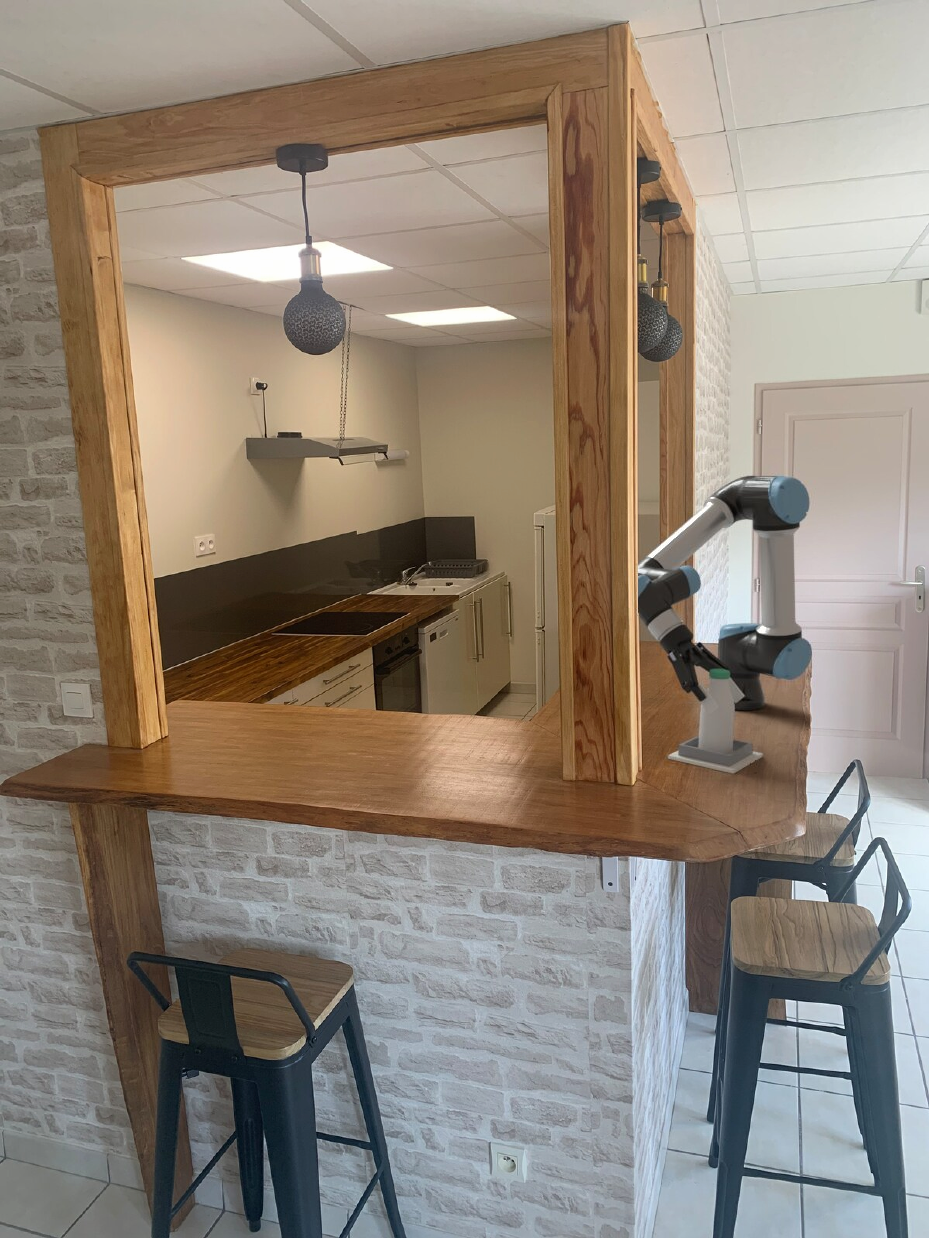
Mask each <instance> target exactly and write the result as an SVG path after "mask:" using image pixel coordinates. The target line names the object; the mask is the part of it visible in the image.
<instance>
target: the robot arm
mask: <svg viewBox="0 0 929 1238" xmlns="http://www.w3.org/2000/svg"><path fill="white" fill-rule="evenodd" d="M810 503H811V501H810V496H809V492H808V489H807V487H806V486H805V484H804V483H802V481H801V480H799V479H798V478H795V477H791V476H790V477H789V476H784V475H745V476H741V477H738V478H736V479H734V480H732V481H730V482H728V483H727V484H725V485H724V486H722V487H720V488H719V489H718V490H715V492H713V494H711V495H710V496H709V497H707V498H706V499H705V501H704V502H703V506H702V507H701V509H700V510H698V511H697V512H696V513H695V514H694V515H693V516H692V517H690V518H689V519H688V520H687V521H686V522H684V523H683V524H682V525H681V526H680V527H679V528H678V529H676V530H675V531H673V533H671V534H670V536H669V537H667V538H665V540H664V541H663V542H661V543H660V544H659V545H658V546H657V547H656V548H654V550H652V551H651V552H650V553H649V554H648V555H646V556H645V557H644V558H643V559H642V560H640V561H639V562H638V563H637V564H638V613H639V617H638V618H639V619H640V620H641V622H642V623H643V624H644V625H645V626H646V628H647V629H648V631H649V632H650V635H651V636H653V637H654V639H656V640H657V641H659V645H660V646H661V647H662V650H664V652H665V653H666V654H667V656H666V657H667V659H668V660H669V662H670V663H671V665H672V667H673V670H674V672H675V674H676V675H675V676H676V677H677V680H678V682H679V684H680V686H681V688H682V690H683V691H685V693H687V694H690V693H692V694H693V695H694V696H695V698H696V699H697V701H699V703H700V705H701V704H702V705H703V707H704V708H705V709H706V711H707V712H708V713H709V715H710V714H712V713H713V712H715V711H716V710H717V709H718V708H720V707H719V706H718V705H717V703H716V702H715V701H714V699H713V698H712V697H711V696H710V694H709V693H708V692H707V689H706V687H704V685H703V684H702V683H700V684H699V680H698V676H697V672H696V669H695V667H700V668H702V669H703V670H705V671H706V672H708V673H709V671H710V670H711V669H726V670H729V671H730V678H729V679H730V680H729V682H728V684H729V689H730V692H731V695H732V697H733V700H734V706H735V710H737V711H752V710H760V709H762V708H764V707H765V704H766V701H765V700H766V699H765V698H766V697H765V694H764V690H763V686H762V683H761V680H760V678H761V675H765V676H768V677H772V678H776V679H778V680H786V681H787V680H788V681H792V680H796V679H798V678H799V677H801V676H802V675H803V674H804V673H805V672H806V670H807V668H809V666H810V663H811V660H812V657H813V655H812V654H813V650H812V649H813V648H812V645H811V644H810V642H809V641H808V640H807V639H805V638H804V637H803V636H802V635H803V634H802V633H803V632H802V630H803V629H802V627H801V626H800V625H799V624H798V623H797V622H796V586H795V584H796V582H795V575H796V574H795V533H796V532H797V531H798V530H799V529H800V527H801V522H802V521H804V519H806V517H807V515H808V512H809V510H810ZM742 520H748V521H752V531H754V532H755V533H756V534H757V535H758V537H759V539H758V540H759V570H760V571H759V573H760V574H759V575H760V578H759V579H760V602H761V603H760V605H761V606H760V608H761V609H760V610H761V613H760V614H761V623H758V622H757V623H756V622H755V623H754V622H747V623H746V622H745V623H730V624H729V623H728V624H724V625H722V626H721V627H720V630H719V633H718V634H719V635H718V644H717V645H718V646H717V656H716V655H715V654H713V652H711V651H710V650H709V649H707V648H706V646H705V645H704V644H703V643H702V642H701V641H699V642H697V643H696V644H694V643H693V642H692V640H693V638H694V633H692V631H691V630H690V629H689V627H688V626H687V624H684V621H683V620H682V618H681V617H680V616H679V614H678V613H677V612H676V611H675V610H674V608H673V606H674V605H676V604H678V603H680V602H683V601H685V600H686V599H689V598H691V596H693V595H694V594H696V593H698V592H699V591H700V590H701V587H702V581H701V577H700V574H699V572H698V571H697V570H696V568H694V567H693V566H691V565H687V564H686V565H683V566H681V565H682V564H683V563H685V562H686V561H687V560H688V559H689V558H690V557H692V555H694V554H695V553H696V552H697V551H698V550H699V549H700V548H702V547H703V546H704V545H706V543H708V541H709V540H711V539H712V538H713V537H714V536H715V535H717V534H718V532H720V531H721V530H723V529H727V528H730V527H731V526H732V525H734V524H735V523H737V522H740V521H742ZM760 674H761V675H760Z"/></svg>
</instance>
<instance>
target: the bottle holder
mask: <svg viewBox="0 0 929 1238" xmlns="http://www.w3.org/2000/svg"><path fill="white" fill-rule="evenodd" d="M698 746H699V734H697V735H696V736H694V737H692V738H690V739H688V740H685V741H684V742H681V743H678V750H677V751H674V752H672V753H670V754H668V755H667V759H669V760H672V761H677V762H681V763H686V764H690V765H694V766H697V767H702V768H707V769H711V770H715V771H720V772H724V773H728V774H732V775H734V774H736V773H737V772H739V771H740V770H742V769H745V768H746V767H748V766H749V765H750V763H751V764H752V763H754V762H756V761H758V760H760V759H761V758H763V754H764V753H762V752H758V751H754V743H753V742H749V741H744V740H740V739H734V738H733V752H732V753H730V754H724V753H719V752H715V751H710V750H706V749H701V748H698ZM755 760H756V761H755Z"/></svg>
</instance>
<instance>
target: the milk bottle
mask: <svg viewBox="0 0 929 1238" xmlns="http://www.w3.org/2000/svg"><path fill="white" fill-rule="evenodd" d="M708 676H709V678H708V679H709V684H708V688H707V689H706V690H707V692H708V693H709V694H710V696H711V697H712V698H713V699H714V701H715V702H716V703H717V705H718V706H719V707H720V708H718V709H717V710H716V711H715V712H713V713H712V714H710V715H709V713H708V712H707V711H706V709H705V708H704V707H703V705H702V704H701V703H700V714H699V726H698V727H699V728H698V731H699V732H698V735H699V746H698V748H701V749H706V750H710V751H715V752H719V753H724V754H730V753H732V752H733V739H734V735H735V733H734V732H735V714H736V713H735V706H734V700H733V697H732V695H731V692H730V689H729V684H728V682H729V680H730V679H729V678H730V671H729V670H726V669H711V670H710V671H709V672H708Z"/></svg>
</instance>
